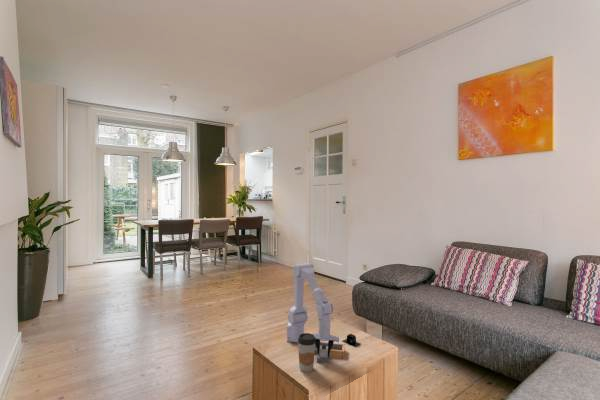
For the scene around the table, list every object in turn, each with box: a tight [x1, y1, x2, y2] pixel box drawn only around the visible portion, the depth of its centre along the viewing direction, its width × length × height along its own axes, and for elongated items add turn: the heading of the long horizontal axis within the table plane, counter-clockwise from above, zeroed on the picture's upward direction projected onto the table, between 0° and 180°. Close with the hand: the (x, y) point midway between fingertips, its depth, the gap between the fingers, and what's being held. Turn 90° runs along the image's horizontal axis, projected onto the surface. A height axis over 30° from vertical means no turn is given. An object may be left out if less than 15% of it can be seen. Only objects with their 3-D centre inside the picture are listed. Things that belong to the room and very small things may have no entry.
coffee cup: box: [298, 332, 316, 373], centre depth 147 cm, size 8×8×15 cm
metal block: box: [319, 345, 328, 358], centre depth 155 cm, size 4×4×5 cm
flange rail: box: [315, 341, 346, 359], centre depth 163 cm, size 16×8×3 cm, turn 79°
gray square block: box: [316, 354, 332, 364], centre depth 155 cm, size 6×6×2 cm
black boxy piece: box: [341, 333, 361, 348], centre depth 175 cm, size 12×7×5 cm, turn 44°
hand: (323, 354), depth 155 cm, fingers closed on metal block, 4 cm apart
